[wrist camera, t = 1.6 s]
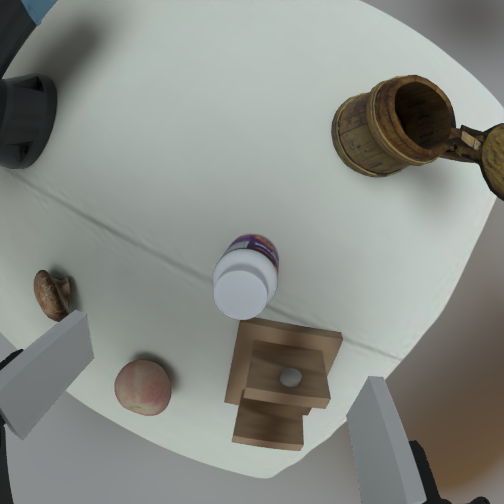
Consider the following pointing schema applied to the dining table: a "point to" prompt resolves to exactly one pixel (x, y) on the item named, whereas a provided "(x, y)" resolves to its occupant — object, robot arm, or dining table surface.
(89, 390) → the dining table surface
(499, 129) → the wooden mug
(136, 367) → the apple
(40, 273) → the mushroom
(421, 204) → the dining table surface
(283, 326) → the holder
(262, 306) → the pill bottle
